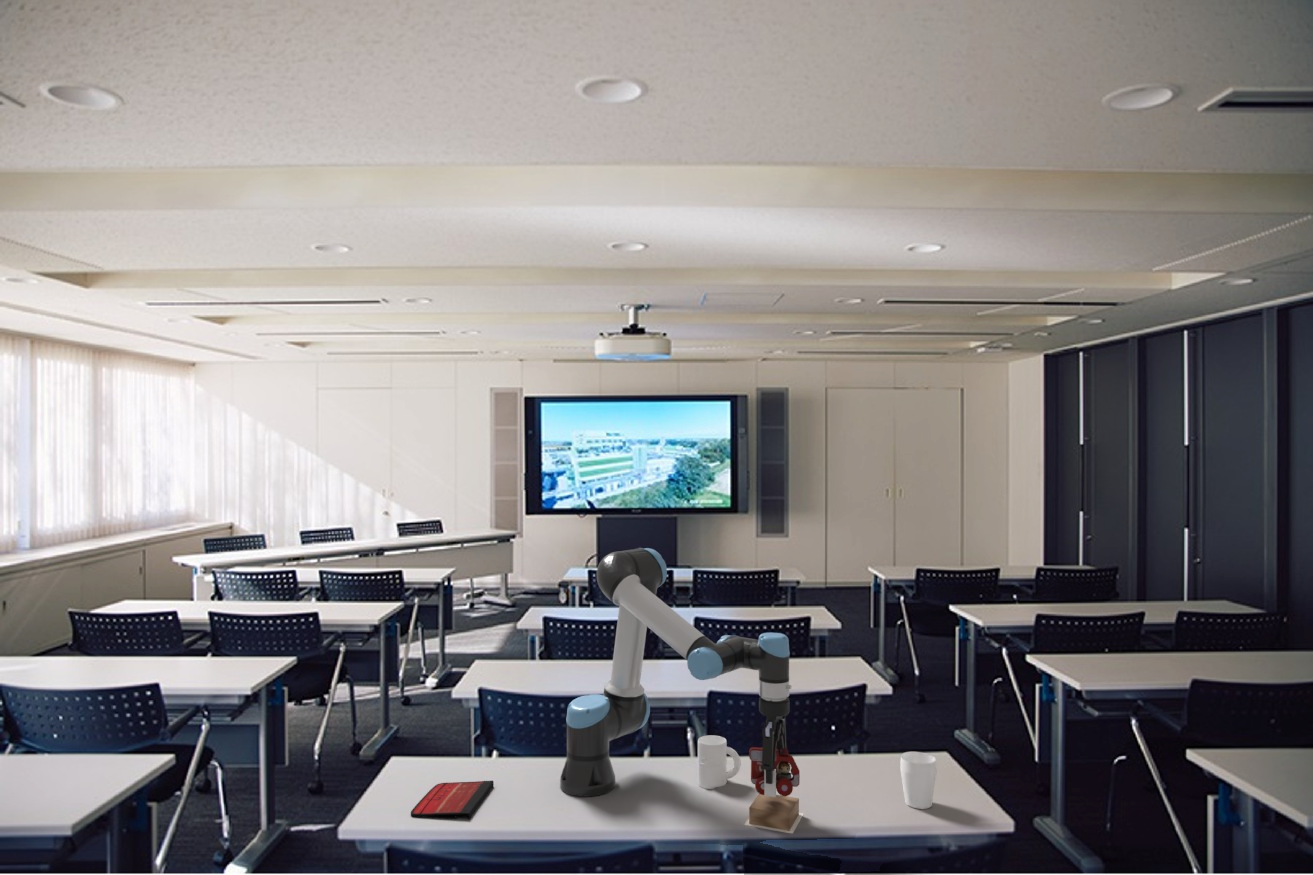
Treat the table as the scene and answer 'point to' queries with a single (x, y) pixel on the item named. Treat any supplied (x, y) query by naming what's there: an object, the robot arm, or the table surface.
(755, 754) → the toy fire truck
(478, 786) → the binder
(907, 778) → the cup
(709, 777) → the mug
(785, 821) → the base block
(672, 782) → the table surface
